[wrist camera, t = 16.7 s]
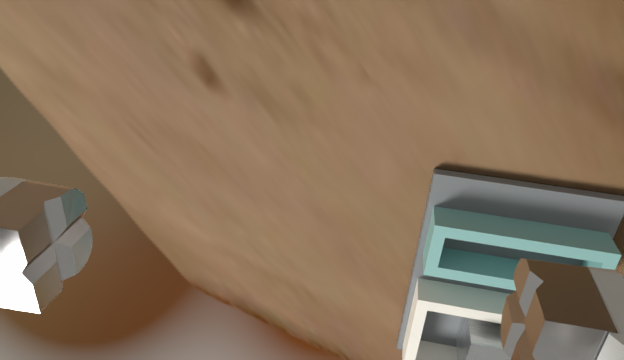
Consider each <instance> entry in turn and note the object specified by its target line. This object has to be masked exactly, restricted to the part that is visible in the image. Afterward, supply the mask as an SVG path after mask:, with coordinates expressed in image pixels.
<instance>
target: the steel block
mask: <svg viewBox="0 0 624 360" xmlns="http://www.w3.org/2000/svg"><path fill="white" fill-rule="evenodd" d="M456 346H457V357H458V360H511V358H510V357H509V356H508V355H507V354H506V353H505V352H504V351H503V348H502V342H501V324H500V323H494V322H488V321H483V320H477V319H472V318H466V317H462V319H461V323H460V326H459V329H458V333H457V336H456Z"/></svg>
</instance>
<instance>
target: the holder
mask: <svg viewBox="0 0 624 360" xmlns="http://www.w3.org/2000/svg"><path fill="white" fill-rule="evenodd" d="M623 215H624V196H621V195H614V194H607V193H600V192H593V191H586V190H580V189H573V188H566V187H559V186H552V185H545V184H538V183H531V182H525V181H518V180H511V179H504V178H497V177H490V176H483V175H476V174H470V173H463V172H456V171H449V170H442V169H435V168H434V171H433V176H432V180H431V185H430V190H429V194H428V199H427V204H426V209H425V213H424V218H423V223H422V227H421V232H420V237H419V241H418V246H417V251H416V255H415V260H414V265H413V269H412V274H411V279H410V283H409V288H408V293H407V297H406V302H405V307H404V312H403V316H402V321H401V326H400V330H399V335H398V340H397V349H400V350H403V358H402V360H458V357H457V346H456V336H457V333H458V329H459V326H460V323H461V319H462V317H466V318H472V319H477V320H483V321H488V322H494V323H500V324H501V319H502V311H503V308H504V304H505V301H506V297H507V296H508V295H510V294H511V293H513V292H514V291H516V287H515V283H514V279H513V275H514V272H515V269H516V266H517V264H518V262H519V261H520V259H521V258H525V259H532V260H540V261H547V262H554V263H561V264H568V265H576V266H587V267H595V268H603V269H612V270H615V269H616V266H617V264H618V262H619V260H620V258H621V253H620V251H619V250H618V248H617V246H616V244H615V243H614V241H613V238H614V236H615V233H616V231H617V229H618V227H619V224H620V222H621V220H622V217H623Z"/></svg>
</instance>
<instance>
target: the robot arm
mask: <svg viewBox="0 0 624 360" xmlns="http://www.w3.org/2000/svg"><path fill="white" fill-rule="evenodd" d="M86 210H87V206H86V202H85V197H84V194H83V193H82V192H81V191H79V190H78V189H76V188H71V187H66V186H60V185H54V184H48V183H43V182H37V181H29V180H26V179H20V178H13V177H0V307H3V308H9V309H15V310H22V311H27V312H34V313H41V312H42V311H43V310H44V309H45V308H46V307H47V306H48V304H49V303H50V302H51V301H52V300H53V299H54V298H55V297H56V296H57V295H58V294H59V293H60V292H61V291H62V289H63V283H62V280H64V279H67V278H69V277H71V276H74V275H76V274H77V273H78V272H79V271H80V270H81V269H82V268H83V267H84V266H85V264H86V262H87V260H88V258H89V255H90V253H91V250H92V233H91V228H90V227H89V225H88V224H87V223H86V222H85V221H84V219H83V218H82V216H83V214H84V213H85V211H86ZM513 279H514V283H515V287H516V291H514V292H513V293H511V294H510V295H508V296H507V297H506V301H505V304H504V308H503V311H502V319H501V342H502V348H503V351H504V352H505V353H506V354H507V355H508V356H509V357H510V358H511V360H624V278H623V276H622V274H621V273H619V272H618V271H616V270H612V269H603V268H595V267H587V266H576V265H568V264H561V263H554V262H547V261H540V260H532V259H525V258H521V259H520V261H519V262H518V264H517V266H516V269H515V272H514V275H513Z"/></svg>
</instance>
